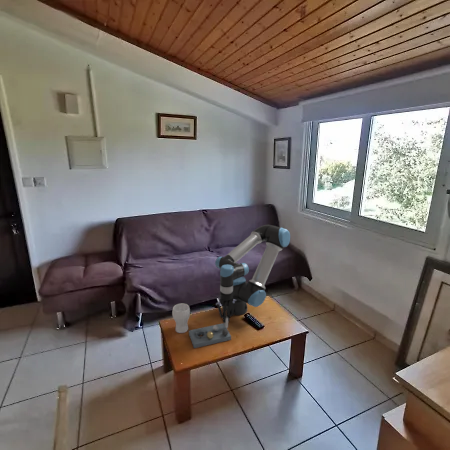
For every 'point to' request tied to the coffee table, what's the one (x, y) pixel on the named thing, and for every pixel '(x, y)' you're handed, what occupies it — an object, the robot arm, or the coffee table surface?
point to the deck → (203, 340)
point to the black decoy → (224, 332)
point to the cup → (181, 317)
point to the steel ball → (215, 328)
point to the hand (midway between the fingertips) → (226, 326)
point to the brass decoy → (210, 335)
